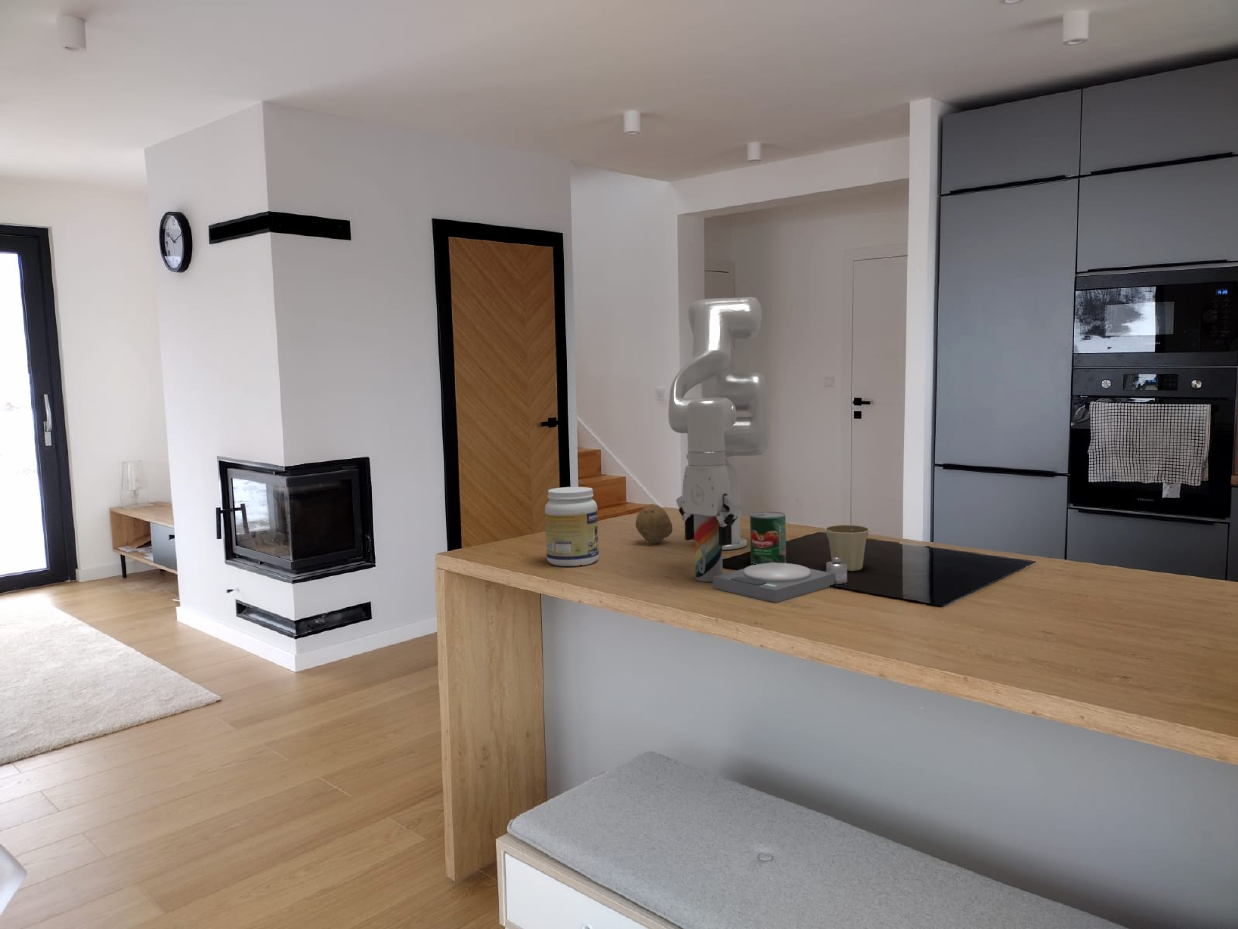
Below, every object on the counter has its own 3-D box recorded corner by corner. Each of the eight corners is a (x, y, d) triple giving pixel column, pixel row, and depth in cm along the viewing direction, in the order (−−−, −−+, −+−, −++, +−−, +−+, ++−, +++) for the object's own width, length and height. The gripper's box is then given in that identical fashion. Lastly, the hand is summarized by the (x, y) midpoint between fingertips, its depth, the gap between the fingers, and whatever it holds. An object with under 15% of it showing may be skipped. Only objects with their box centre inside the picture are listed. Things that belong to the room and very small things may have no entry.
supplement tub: (598, 567, 198) (595, 492, 196) (544, 568, 199) (541, 493, 197) (600, 555, 210) (597, 484, 209) (549, 556, 211) (546, 486, 209)
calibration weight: (822, 583, 177) (822, 557, 177) (834, 579, 180) (834, 554, 179) (838, 586, 174) (838, 560, 174) (851, 582, 177) (850, 557, 176)
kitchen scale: (713, 588, 176) (712, 572, 175) (772, 572, 187) (771, 558, 187) (775, 602, 164) (775, 586, 163) (834, 585, 175) (834, 569, 175)
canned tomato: (784, 558, 200) (784, 510, 199) (787, 566, 193) (787, 516, 192) (749, 559, 201) (748, 511, 200) (751, 566, 194) (750, 517, 192)
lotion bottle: (691, 581, 182) (688, 485, 180) (701, 575, 187) (699, 481, 185) (716, 583, 180) (714, 486, 178) (726, 577, 185) (724, 482, 183)
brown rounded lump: (631, 541, 226) (629, 503, 225) (663, 538, 229) (662, 500, 228) (642, 548, 218) (641, 508, 217) (676, 544, 220) (675, 505, 219)
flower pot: (859, 575, 183) (859, 534, 182) (817, 570, 188) (817, 530, 187) (876, 566, 190) (876, 526, 189) (835, 561, 196) (835, 523, 195)
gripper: (664, 459, 185) (666, 539, 187) (724, 463, 172) (726, 550, 173) (689, 456, 190) (691, 535, 191) (750, 460, 177) (751, 544, 178)
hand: (708, 542), depth 182 cm, fingers open, 9 cm apart
